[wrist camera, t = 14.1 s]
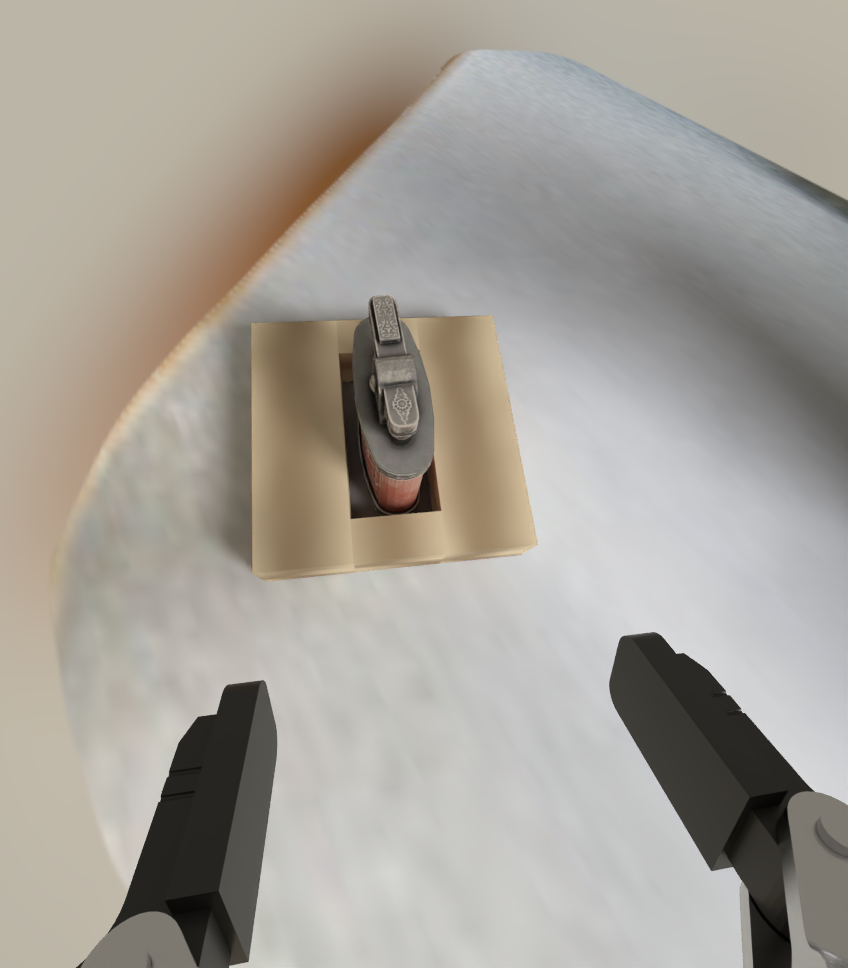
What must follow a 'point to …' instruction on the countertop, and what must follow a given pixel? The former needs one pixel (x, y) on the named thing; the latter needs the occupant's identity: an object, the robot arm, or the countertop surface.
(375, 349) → the lighter
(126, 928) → the robot arm
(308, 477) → the rail
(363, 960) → the countertop surface
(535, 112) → the countertop surface
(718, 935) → the countertop surface
